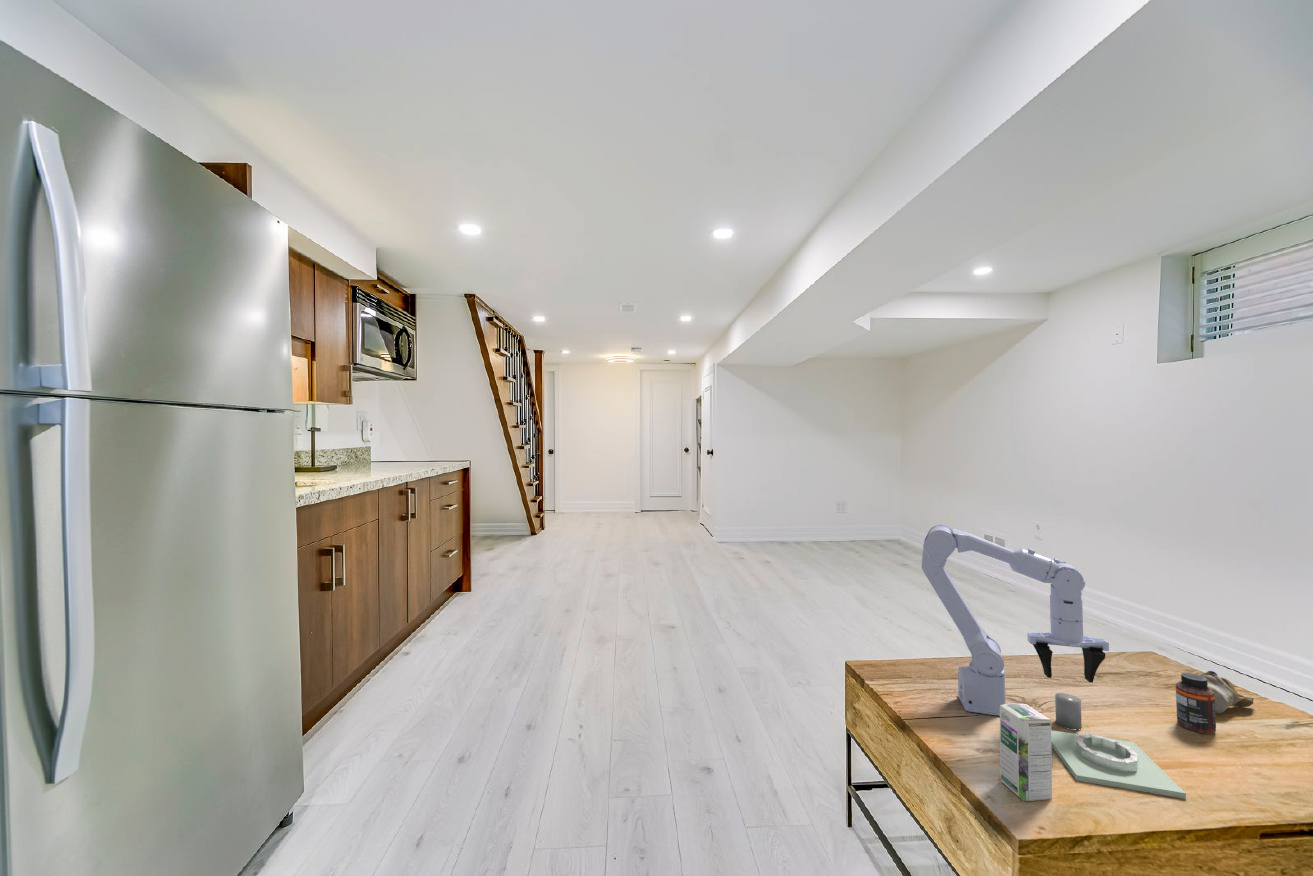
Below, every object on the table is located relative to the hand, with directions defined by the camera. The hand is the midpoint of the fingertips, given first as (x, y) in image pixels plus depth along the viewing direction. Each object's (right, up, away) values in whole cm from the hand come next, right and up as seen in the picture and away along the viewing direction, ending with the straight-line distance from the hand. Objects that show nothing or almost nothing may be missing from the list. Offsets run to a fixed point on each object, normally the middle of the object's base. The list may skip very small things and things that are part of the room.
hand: (1068, 678), depth 113 cm
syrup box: (-25, -11, -21) cm, 35 cm away
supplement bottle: (+27, -10, -2) cm, 29 cm away
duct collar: (-4, -10, -14) cm, 17 cm away
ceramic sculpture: (+41, -10, +7) cm, 43 cm away
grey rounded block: (0, -10, 0) cm, 10 cm away
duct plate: (-4, -10, -14) cm, 17 cm away
